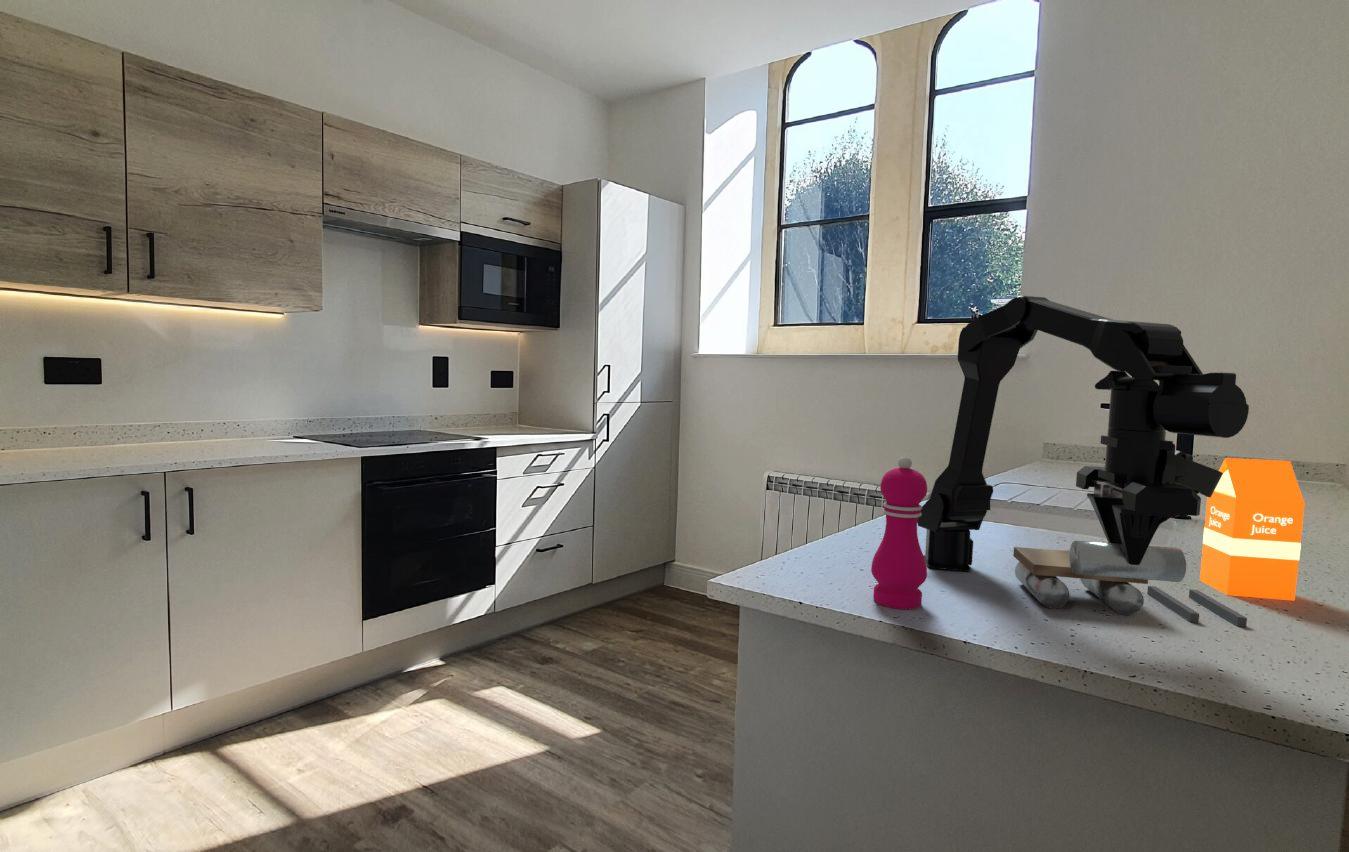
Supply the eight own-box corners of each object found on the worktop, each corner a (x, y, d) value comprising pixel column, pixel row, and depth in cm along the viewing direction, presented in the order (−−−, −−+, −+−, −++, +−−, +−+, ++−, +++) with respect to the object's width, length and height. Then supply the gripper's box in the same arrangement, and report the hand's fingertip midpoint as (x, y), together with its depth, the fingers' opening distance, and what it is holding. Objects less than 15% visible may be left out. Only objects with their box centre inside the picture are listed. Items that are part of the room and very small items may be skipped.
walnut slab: (1033, 574, 95) (1034, 564, 94) (1013, 556, 104) (1014, 546, 104) (1147, 583, 92) (1148, 573, 92) (1116, 564, 102) (1117, 554, 101)
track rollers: (1036, 606, 94) (1038, 578, 94) (1014, 583, 105) (1015, 557, 105) (1142, 616, 92) (1145, 586, 91) (1108, 591, 102) (1110, 564, 102)
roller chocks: (1189, 621, 90) (1190, 612, 90) (1147, 593, 102) (1147, 585, 102) (1246, 627, 89) (1247, 617, 89) (1196, 597, 101) (1197, 589, 100)
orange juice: (1295, 600, 101) (1310, 464, 99) (1226, 595, 102) (1239, 460, 101) (1262, 585, 108) (1274, 458, 107) (1198, 579, 110) (1209, 454, 109)
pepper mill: (882, 590, 100) (889, 452, 98) (932, 601, 95) (941, 457, 94) (860, 601, 94) (868, 455, 93) (913, 615, 90) (922, 461, 88)
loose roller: (1081, 577, 82) (1083, 544, 82) (1068, 569, 86) (1070, 537, 86) (1185, 585, 80) (1187, 551, 80) (1167, 577, 84) (1169, 544, 84)
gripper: (1264, 440, 71) (1250, 589, 72) (1173, 427, 89) (1163, 546, 90) (1143, 434, 73) (1131, 579, 74) (1078, 423, 91) (1070, 540, 93)
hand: (1125, 559), depth 83 cm, fingers closed on loose roller, 4 cm apart
